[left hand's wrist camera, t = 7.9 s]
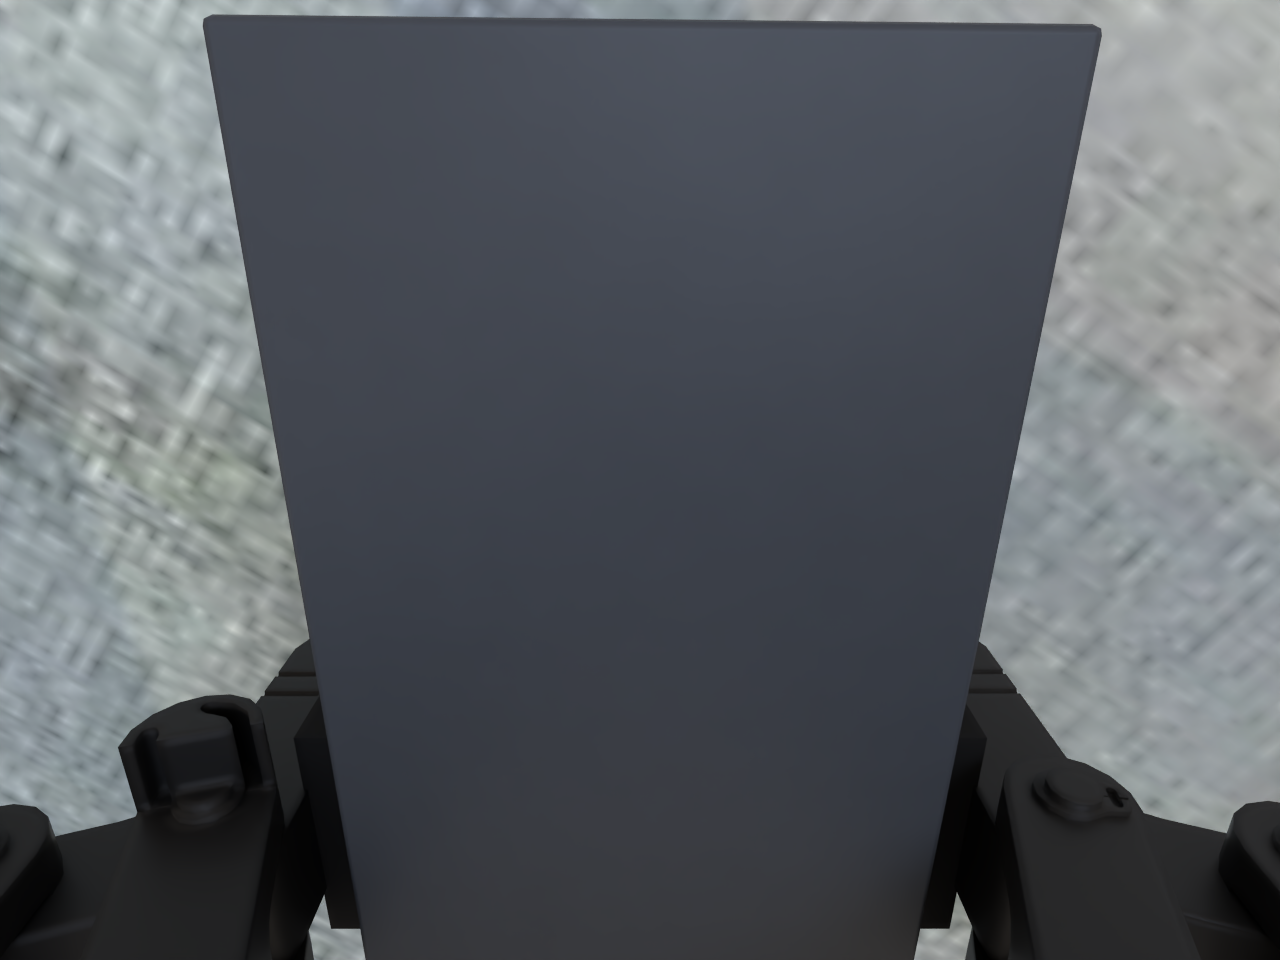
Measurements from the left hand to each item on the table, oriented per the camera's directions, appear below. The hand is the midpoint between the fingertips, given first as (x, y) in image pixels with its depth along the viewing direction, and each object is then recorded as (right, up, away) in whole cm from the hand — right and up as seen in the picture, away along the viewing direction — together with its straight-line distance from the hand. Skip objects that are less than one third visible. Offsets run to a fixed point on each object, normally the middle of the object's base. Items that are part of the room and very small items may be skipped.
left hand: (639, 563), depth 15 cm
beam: (0, -16, +7) cm, 18 cm away
